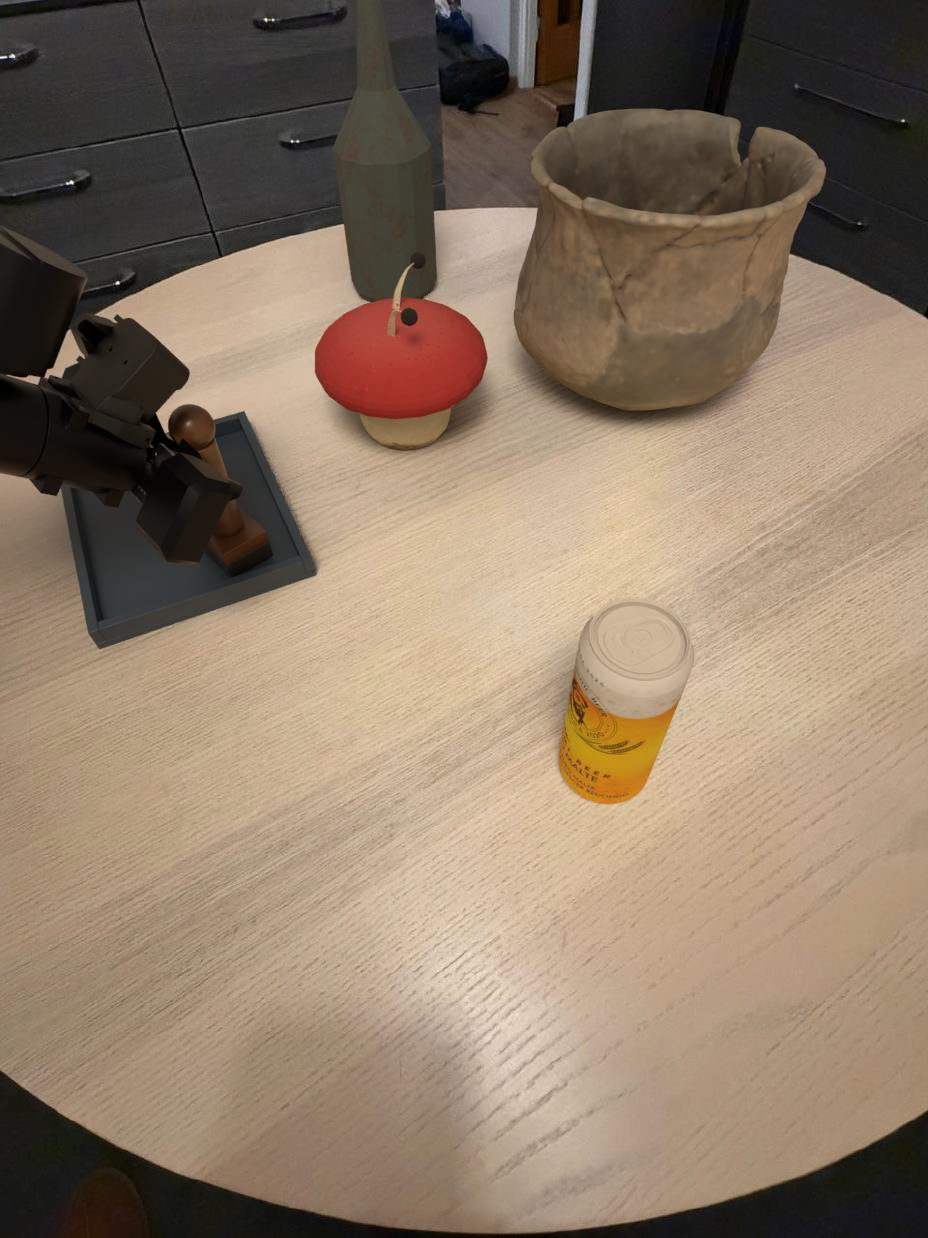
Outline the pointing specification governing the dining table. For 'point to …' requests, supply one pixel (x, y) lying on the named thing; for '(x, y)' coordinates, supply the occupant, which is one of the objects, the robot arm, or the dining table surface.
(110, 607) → the tray
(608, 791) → the beer can
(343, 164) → the bottle
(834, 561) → the dining table surface
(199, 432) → the wooden ball stamp
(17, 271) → the robot arm
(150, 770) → the dining table surface
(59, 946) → the dining table surface
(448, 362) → the mushroom
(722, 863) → the dining table surface
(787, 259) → the pot
